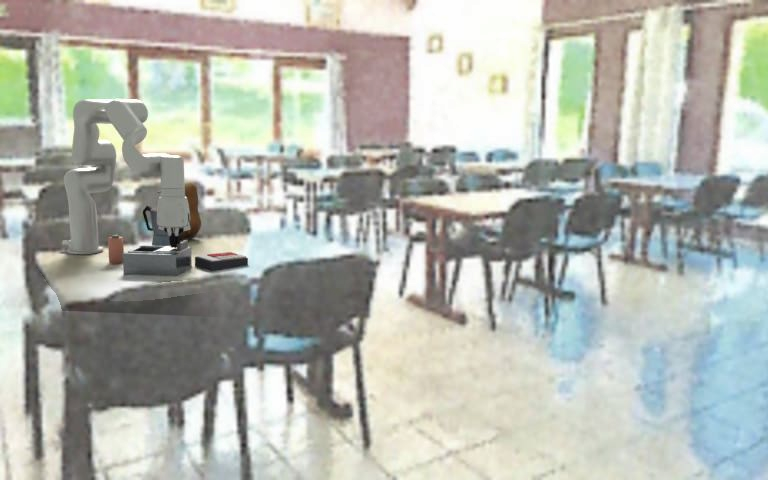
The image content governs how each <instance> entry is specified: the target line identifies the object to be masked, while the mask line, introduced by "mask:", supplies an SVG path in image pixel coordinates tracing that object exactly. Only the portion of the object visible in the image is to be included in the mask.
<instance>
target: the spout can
mask: <svg viewBox="0 0 768 480" xmlns="http://www.w3.org/2000/svg"><path fill="white" fill-rule="evenodd" d="M107 245H108V247H107V248H108V250H107V251H108V262H109V264H110V265H121V264H122V265H123V254H122V253H124V252H125V251H124V249H125V246H124V237H123V236H120V235H119V234H113V235H111V236H109V237H107Z"/></svg>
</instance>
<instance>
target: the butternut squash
mask: <svg viewBox="0 0 768 480" xmlns="http://www.w3.org/2000/svg"><path fill="white" fill-rule="evenodd" d="M184 183H185V197H187V200H188V204H189V211H190V230H187V231H183V232H182V233H181V235H180V241H181V240H182V241H184V240H188V241H190V240H192V239H195V238H196V237H197V235H198V233H199V231H200V230H201V226H202V220H201V217H200V216H201V215H200V213H199V195H198V188H197V185H196V183H195V182H194V181H192V180H188V179H186V180H184ZM174 233H175V228H174Z"/></svg>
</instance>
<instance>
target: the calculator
mask: <svg viewBox="0 0 768 480" xmlns="http://www.w3.org/2000/svg"><path fill="white" fill-rule="evenodd" d="M244 266H249V258H248V257H247V256H245V255H242V254H239V253H236V252H231V251H228V252H217V253H208V254H207V253H206V254H202V255H196V256H195V257H194V267H196V268H200V269H202V270H206V271H208V272H216V271H222V270H227V269H233V268H238V267H239V268H240V267H244Z"/></svg>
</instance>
